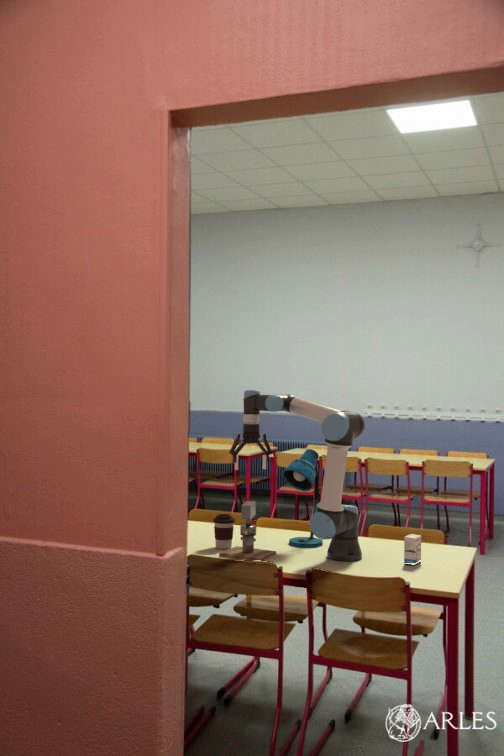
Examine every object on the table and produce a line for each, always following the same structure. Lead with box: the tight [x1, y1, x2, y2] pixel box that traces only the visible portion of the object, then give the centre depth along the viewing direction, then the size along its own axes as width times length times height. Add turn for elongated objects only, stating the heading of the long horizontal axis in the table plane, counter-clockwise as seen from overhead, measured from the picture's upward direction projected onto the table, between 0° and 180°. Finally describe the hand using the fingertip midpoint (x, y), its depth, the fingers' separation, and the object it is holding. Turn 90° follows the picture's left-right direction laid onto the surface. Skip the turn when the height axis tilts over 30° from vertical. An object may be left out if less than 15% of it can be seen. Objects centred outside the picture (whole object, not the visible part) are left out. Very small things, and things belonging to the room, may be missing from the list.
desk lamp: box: [281, 448, 324, 549], centre depth 352 cm, size 16×22×45 cm
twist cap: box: [239, 500, 257, 537], centre depth 328 cm, size 12×7×14 cm, turn 169°
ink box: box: [403, 533, 422, 564], centre depth 318 cm, size 9×5×12 cm, turn 148°
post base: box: [218, 536, 277, 561], centre depth 328 cm, size 20×16×9 cm
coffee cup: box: [212, 513, 236, 550], centre depth 343 cm, size 10×10×15 cm
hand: (250, 469), depth 343 cm, fingers open, 13 cm apart
